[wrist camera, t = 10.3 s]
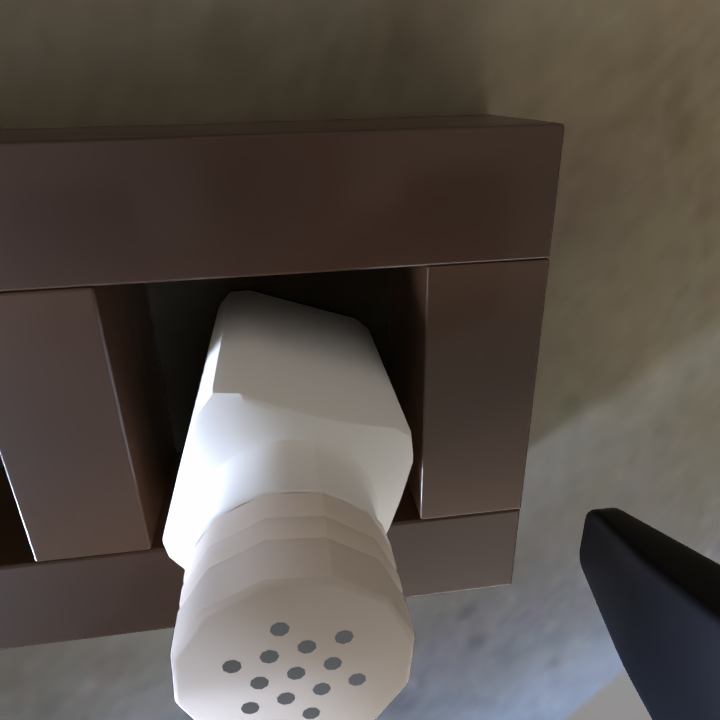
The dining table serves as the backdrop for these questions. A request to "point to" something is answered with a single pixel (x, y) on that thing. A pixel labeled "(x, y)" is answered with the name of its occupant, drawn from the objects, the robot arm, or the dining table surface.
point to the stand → (243, 259)
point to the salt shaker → (290, 522)
